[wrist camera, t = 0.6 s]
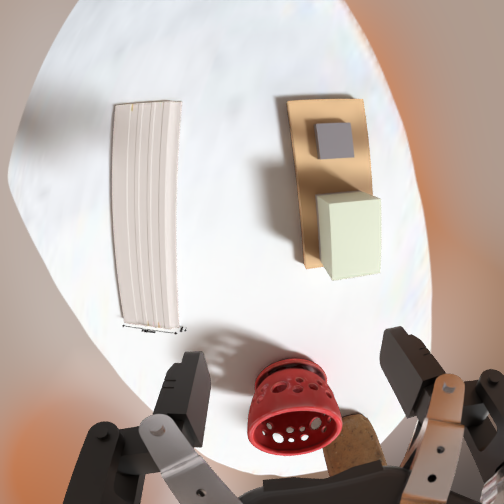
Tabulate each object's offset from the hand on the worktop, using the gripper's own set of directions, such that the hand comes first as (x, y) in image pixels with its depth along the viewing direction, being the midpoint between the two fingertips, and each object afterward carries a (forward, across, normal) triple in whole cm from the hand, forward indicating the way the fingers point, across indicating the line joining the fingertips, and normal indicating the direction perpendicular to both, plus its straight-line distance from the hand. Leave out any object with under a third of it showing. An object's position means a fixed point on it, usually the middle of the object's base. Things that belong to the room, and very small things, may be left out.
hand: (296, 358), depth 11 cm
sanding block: (+22, -9, 0) cm, 24 cm away
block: (+25, -13, +43) cm, 51 cm away
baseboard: (+25, +14, -2) cm, 29 cm away
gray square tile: (+22, -8, -10) cm, 26 cm away
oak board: (+24, -8, -5) cm, 26 cm away
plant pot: (+24, -1, +26) cm, 35 cm away
